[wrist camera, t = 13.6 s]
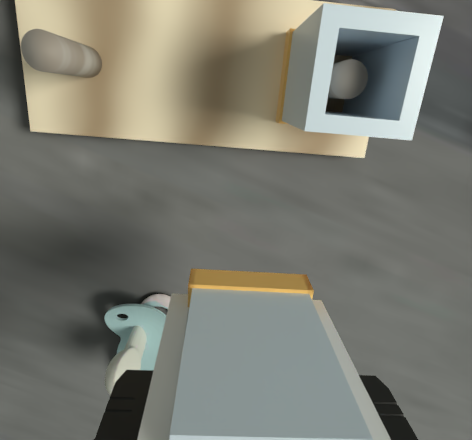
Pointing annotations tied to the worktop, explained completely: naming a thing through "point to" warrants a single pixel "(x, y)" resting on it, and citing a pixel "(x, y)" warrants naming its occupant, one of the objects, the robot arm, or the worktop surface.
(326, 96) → the sleeve
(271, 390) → the sleeve
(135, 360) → the pacifier
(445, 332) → the worktop surface
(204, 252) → the worktop surface
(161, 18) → the pin board
